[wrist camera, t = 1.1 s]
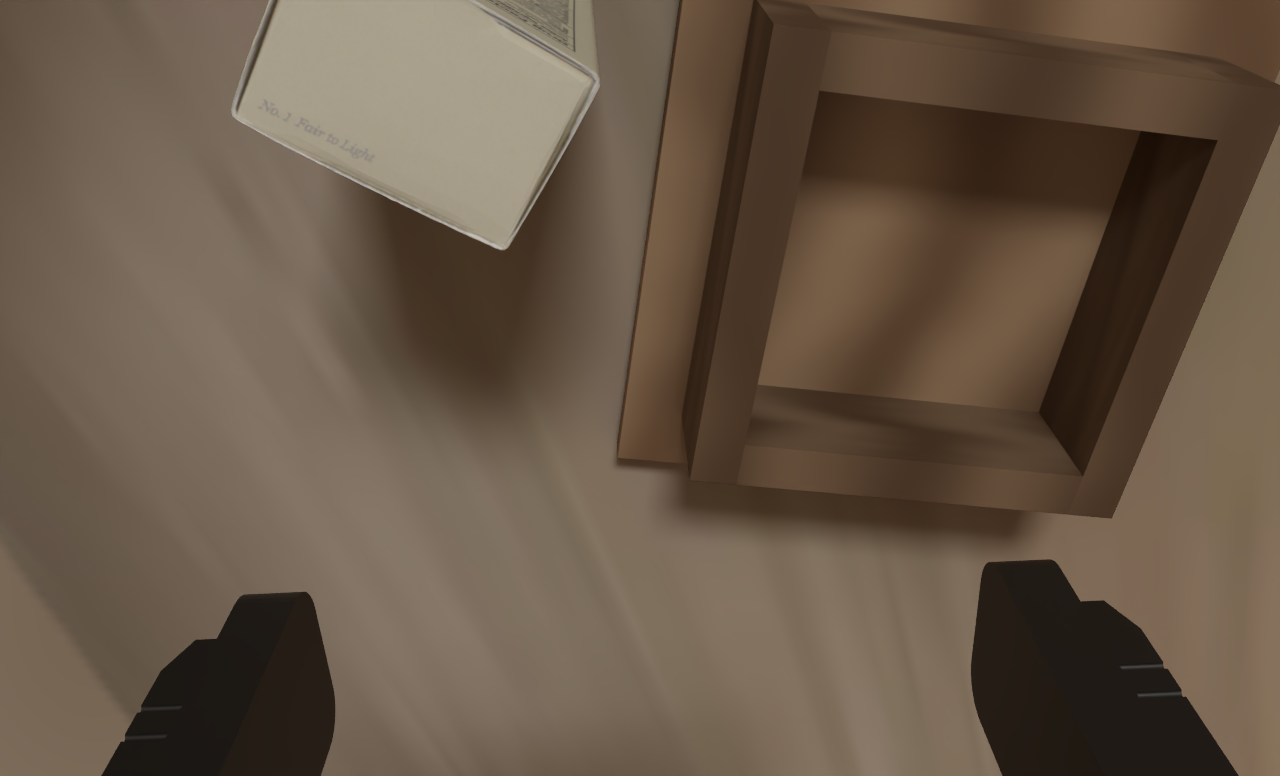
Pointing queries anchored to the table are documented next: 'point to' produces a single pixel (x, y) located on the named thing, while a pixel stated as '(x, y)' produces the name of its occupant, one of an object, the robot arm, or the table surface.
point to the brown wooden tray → (939, 239)
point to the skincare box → (427, 98)
